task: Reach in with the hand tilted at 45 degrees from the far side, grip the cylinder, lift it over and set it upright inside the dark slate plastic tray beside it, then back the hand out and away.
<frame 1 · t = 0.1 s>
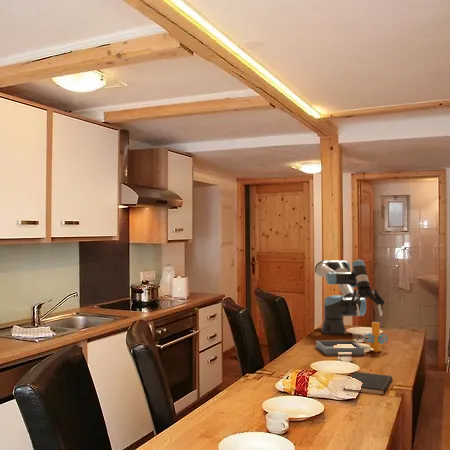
hand: (370, 315, 305), 15 cm above the table, tool tilted 35°, fingers open, 13 cm apart
hardcover book: (368, 386, 216), on the table
tray: (339, 350, 279), on the table
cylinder: (375, 350, 281), on the table
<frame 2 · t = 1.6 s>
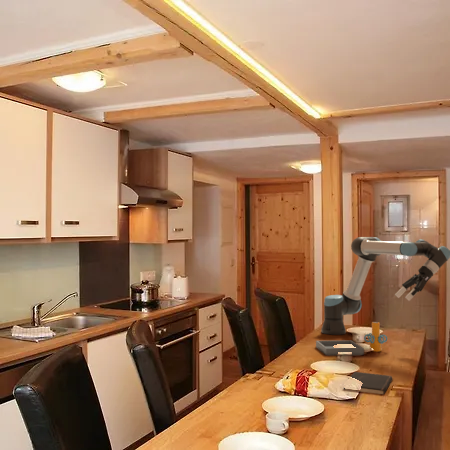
hand: (401, 297, 285), 28 cm above the table, tool tilted 45°, fingers open, 13 cm apart
nothing on the table moved.
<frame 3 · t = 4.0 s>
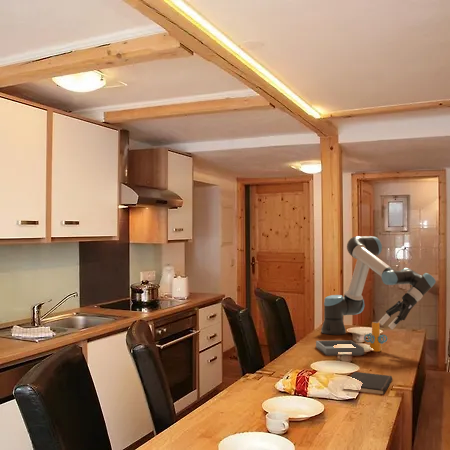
hand: (385, 325, 281), 13 cm above the table, tool tilted 45°, fingers open, 13 cm apart
nothing on the table moved.
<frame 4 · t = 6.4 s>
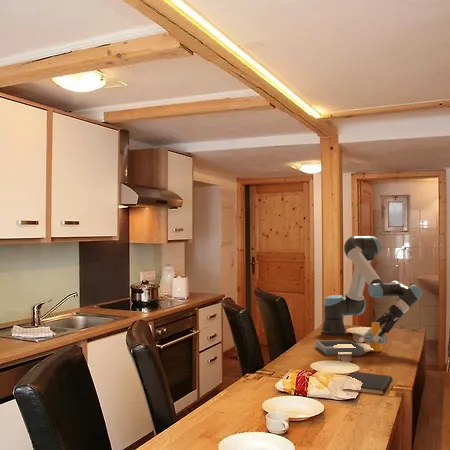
hand: (370, 338, 281), 7 cm above the table, tool tilted 45°, fingers closed on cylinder, 11 cm apart
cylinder: (375, 350, 281), on the table, touching gripper
everything else where it was.
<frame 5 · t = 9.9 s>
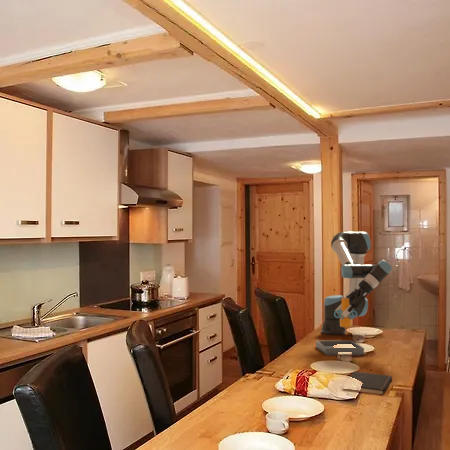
hand: (340, 313, 279), 20 cm above the table, tool tilted 45°, fingers closed on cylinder, 11 cm apart
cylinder: (345, 326, 279), point 13 cm above the table, touching gripper
everything else where it was.
when the fingers open (9 cm above the table, at t = 13.5 s): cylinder drops 1 cm, resting on tray.
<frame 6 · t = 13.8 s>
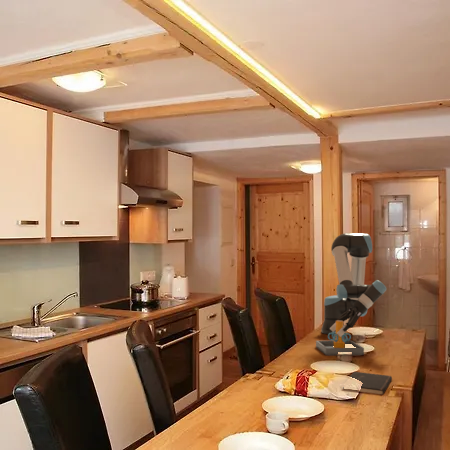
hand: (334, 332, 280), 10 cm above the table, tool tilted 45°, fingers open, 13 cm apart
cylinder: (339, 349, 279), point 1 cm above the table, touching tray
everything else where it was.
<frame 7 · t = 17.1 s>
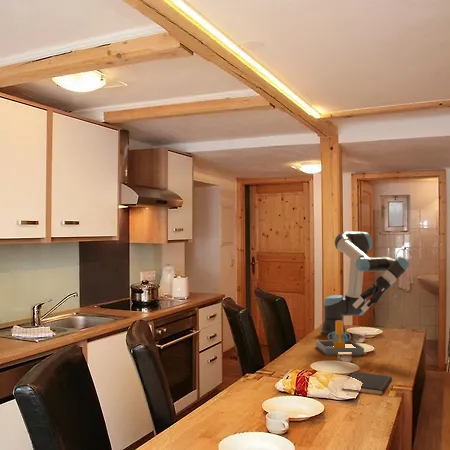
hand: (358, 308, 281), 22 cm above the table, tool tilted 45°, fingers open, 13 cm apart
nothing on the table moved.
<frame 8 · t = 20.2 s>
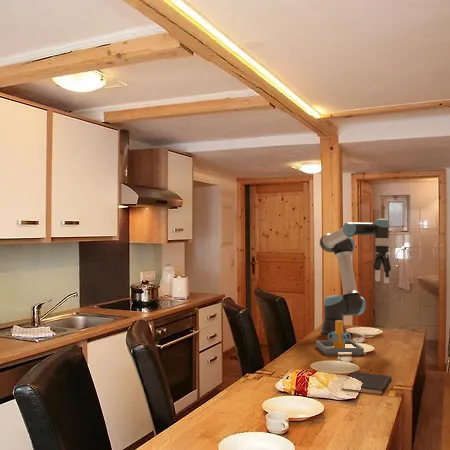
hand: (382, 282, 305), 35 cm above the table, tool pointing down, fingers open, 13 cm apart
nothing on the table moved.
at the end: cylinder inside the target area on the tray (0.0 cm from its centre), point 0.8 cm above the tray's base; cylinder tilted 0°; the gripper is holding nothing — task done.
